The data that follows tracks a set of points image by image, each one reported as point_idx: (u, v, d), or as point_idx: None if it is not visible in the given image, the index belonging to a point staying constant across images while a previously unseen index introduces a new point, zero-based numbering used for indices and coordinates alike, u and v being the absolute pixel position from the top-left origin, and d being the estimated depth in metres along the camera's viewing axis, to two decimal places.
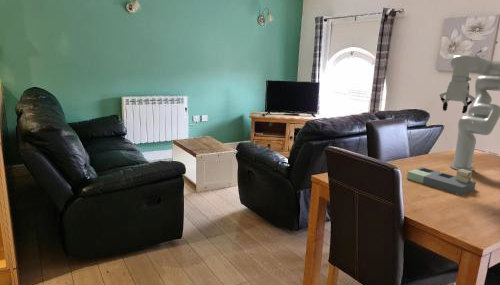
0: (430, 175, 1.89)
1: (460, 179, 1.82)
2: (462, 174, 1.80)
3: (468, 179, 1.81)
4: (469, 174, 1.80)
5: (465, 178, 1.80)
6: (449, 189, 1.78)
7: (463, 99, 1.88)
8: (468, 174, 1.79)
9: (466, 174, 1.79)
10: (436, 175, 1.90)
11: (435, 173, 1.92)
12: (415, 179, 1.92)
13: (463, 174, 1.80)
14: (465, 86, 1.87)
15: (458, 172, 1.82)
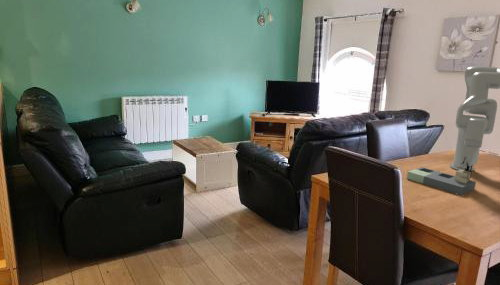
0: (430, 175, 1.89)
1: (459, 180, 1.81)
2: (461, 175, 1.79)
3: (467, 180, 1.80)
4: (468, 175, 1.79)
5: (464, 179, 1.79)
6: (449, 189, 1.78)
7: None
8: (467, 175, 1.78)
9: (465, 175, 1.78)
10: (436, 175, 1.90)
11: (435, 173, 1.92)
12: (415, 179, 1.92)
13: (462, 175, 1.79)
14: None
15: (457, 173, 1.81)
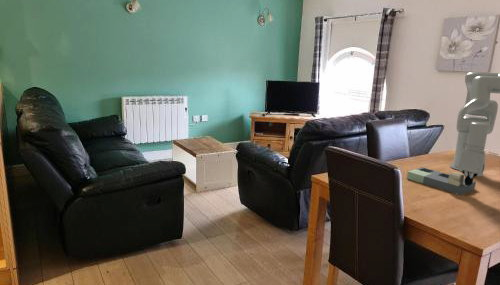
0: (430, 175, 1.89)
1: (452, 182, 1.76)
2: (454, 177, 1.75)
3: (460, 182, 1.76)
4: (461, 177, 1.75)
5: (457, 181, 1.74)
6: (449, 189, 1.78)
7: None
8: (460, 177, 1.74)
9: (458, 177, 1.74)
10: (436, 175, 1.90)
11: (435, 173, 1.92)
12: (415, 179, 1.92)
13: (455, 177, 1.75)
14: None
15: (450, 175, 1.77)
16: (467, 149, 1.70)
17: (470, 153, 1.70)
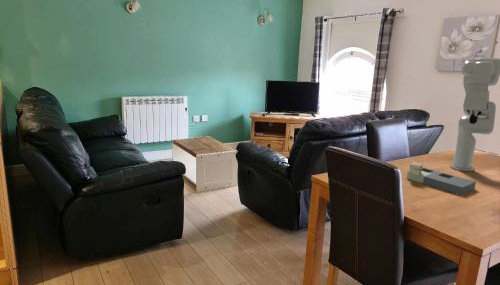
0: (430, 175, 1.89)
1: (413, 172, 1.90)
2: (415, 167, 1.89)
3: (420, 171, 1.90)
4: (421, 167, 1.90)
5: (418, 171, 1.89)
6: (449, 189, 1.78)
7: None
8: (420, 167, 1.89)
9: (418, 167, 1.88)
10: (436, 175, 1.90)
11: (435, 173, 1.92)
12: (415, 179, 1.92)
13: (416, 167, 1.89)
14: None
15: (411, 165, 1.90)
16: (472, 88, 1.79)
17: (475, 91, 1.79)
